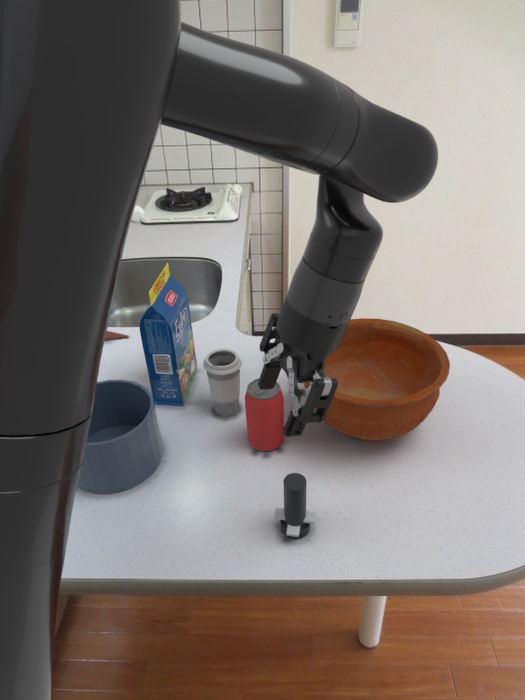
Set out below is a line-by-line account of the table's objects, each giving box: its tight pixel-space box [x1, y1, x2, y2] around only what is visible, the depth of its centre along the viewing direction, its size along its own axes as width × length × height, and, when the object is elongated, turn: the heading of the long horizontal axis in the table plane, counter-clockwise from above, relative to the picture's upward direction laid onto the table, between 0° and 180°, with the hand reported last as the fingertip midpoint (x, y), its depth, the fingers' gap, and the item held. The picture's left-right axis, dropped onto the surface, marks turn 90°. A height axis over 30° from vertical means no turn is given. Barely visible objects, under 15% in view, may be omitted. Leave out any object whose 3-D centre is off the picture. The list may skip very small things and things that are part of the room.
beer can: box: [244, 377, 285, 452], centre depth 91 cm, size 7×7×12 cm
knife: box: [105, 330, 130, 341], centre depth 124 cm, size 29×2×5 cm
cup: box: [202, 348, 243, 417], centre depth 98 cm, size 7×7×12 cm
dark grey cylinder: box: [273, 472, 317, 540], centre depth 76 cm, size 6×6×10 cm
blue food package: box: [139, 262, 198, 406], centre depth 101 cm, size 6×12×25 cm, turn 173°
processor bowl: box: [77, 379, 164, 495], centre depth 89 cm, size 16×16×11 cm
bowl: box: [304, 317, 451, 441], centre depth 93 cm, size 25×25×15 cm
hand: (277, 410), depth 66 cm, fingers open, 8 cm apart
